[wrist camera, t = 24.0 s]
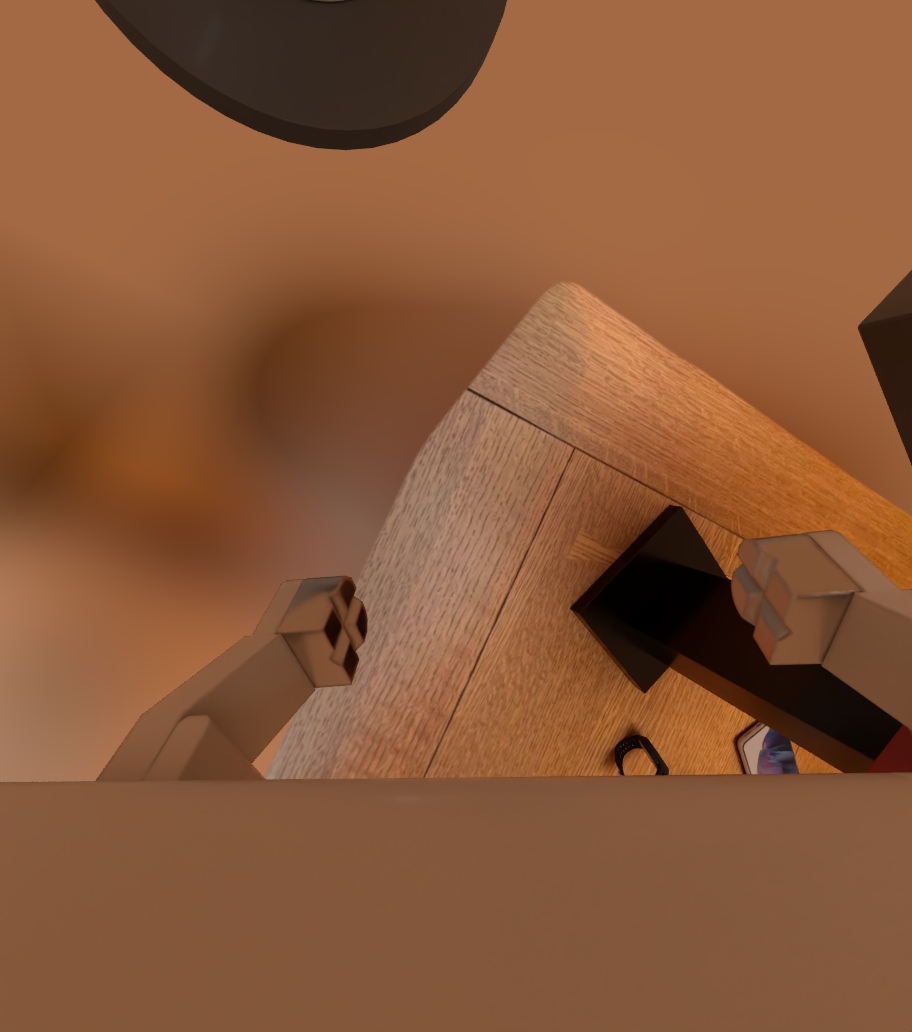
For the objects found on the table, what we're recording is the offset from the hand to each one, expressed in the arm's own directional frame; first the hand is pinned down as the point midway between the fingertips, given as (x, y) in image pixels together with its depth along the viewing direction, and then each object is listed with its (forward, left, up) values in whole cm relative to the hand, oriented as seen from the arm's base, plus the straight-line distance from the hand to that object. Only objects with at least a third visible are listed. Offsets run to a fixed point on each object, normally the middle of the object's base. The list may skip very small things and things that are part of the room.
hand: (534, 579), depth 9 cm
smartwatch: (+36, +1, -25) cm, 44 cm away
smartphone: (+56, +12, -25) cm, 63 cm away
